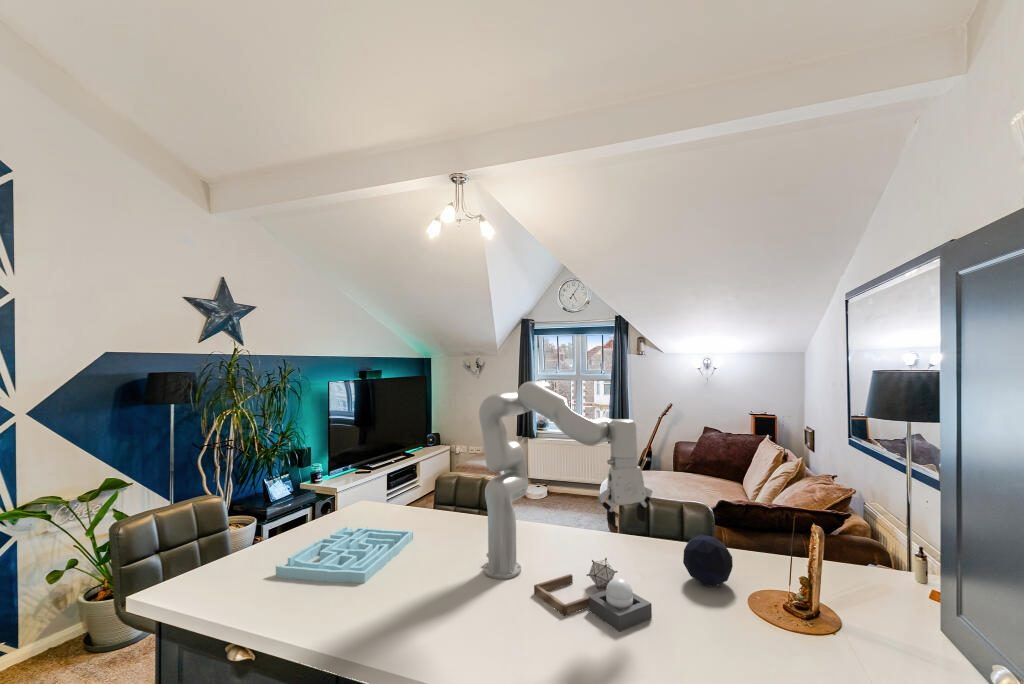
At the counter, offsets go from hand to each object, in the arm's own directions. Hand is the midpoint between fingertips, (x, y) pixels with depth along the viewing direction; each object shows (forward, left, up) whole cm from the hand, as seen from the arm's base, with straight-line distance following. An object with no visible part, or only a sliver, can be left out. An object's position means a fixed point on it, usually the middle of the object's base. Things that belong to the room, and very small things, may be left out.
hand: (626, 522), depth 133 cm
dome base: (+2, -5, -24) cm, 24 cm away
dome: (+2, -5, -21) cm, 22 cm away
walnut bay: (-13, -11, -24) cm, 29 cm away
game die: (-13, +2, -24) cm, 28 cm away
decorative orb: (+3, +32, -24) cm, 40 cm away
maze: (-80, -60, -25) cm, 103 cm away
